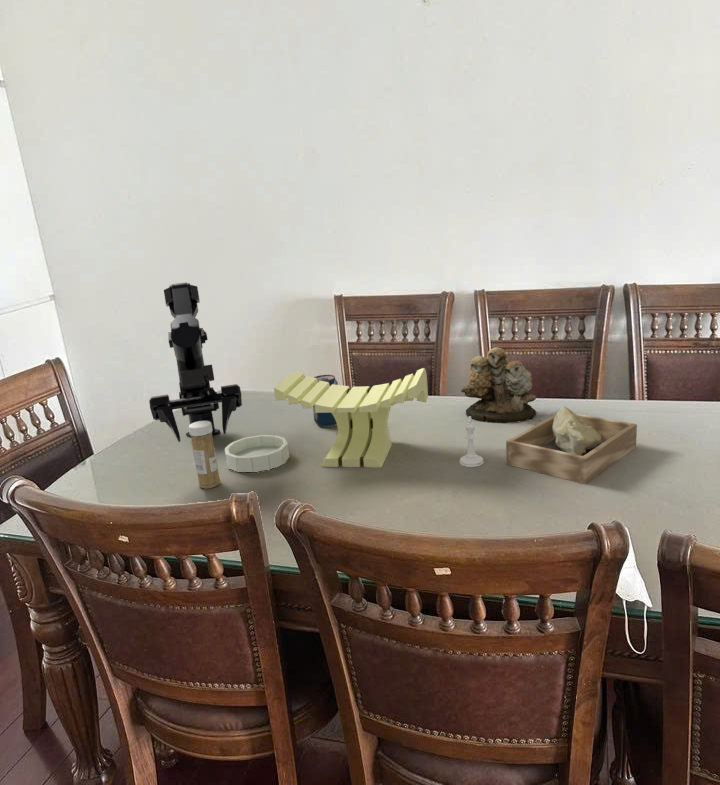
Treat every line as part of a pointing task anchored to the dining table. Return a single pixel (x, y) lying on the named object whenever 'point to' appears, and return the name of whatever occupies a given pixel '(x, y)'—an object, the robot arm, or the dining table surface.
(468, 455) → the chess piece
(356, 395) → the slatted curved stool
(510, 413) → the owl figurine
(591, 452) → the light brown wooden tray
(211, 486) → the sprinkles bottle
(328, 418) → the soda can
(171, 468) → the dining table surface
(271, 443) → the bowl
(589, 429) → the pale beige rock
